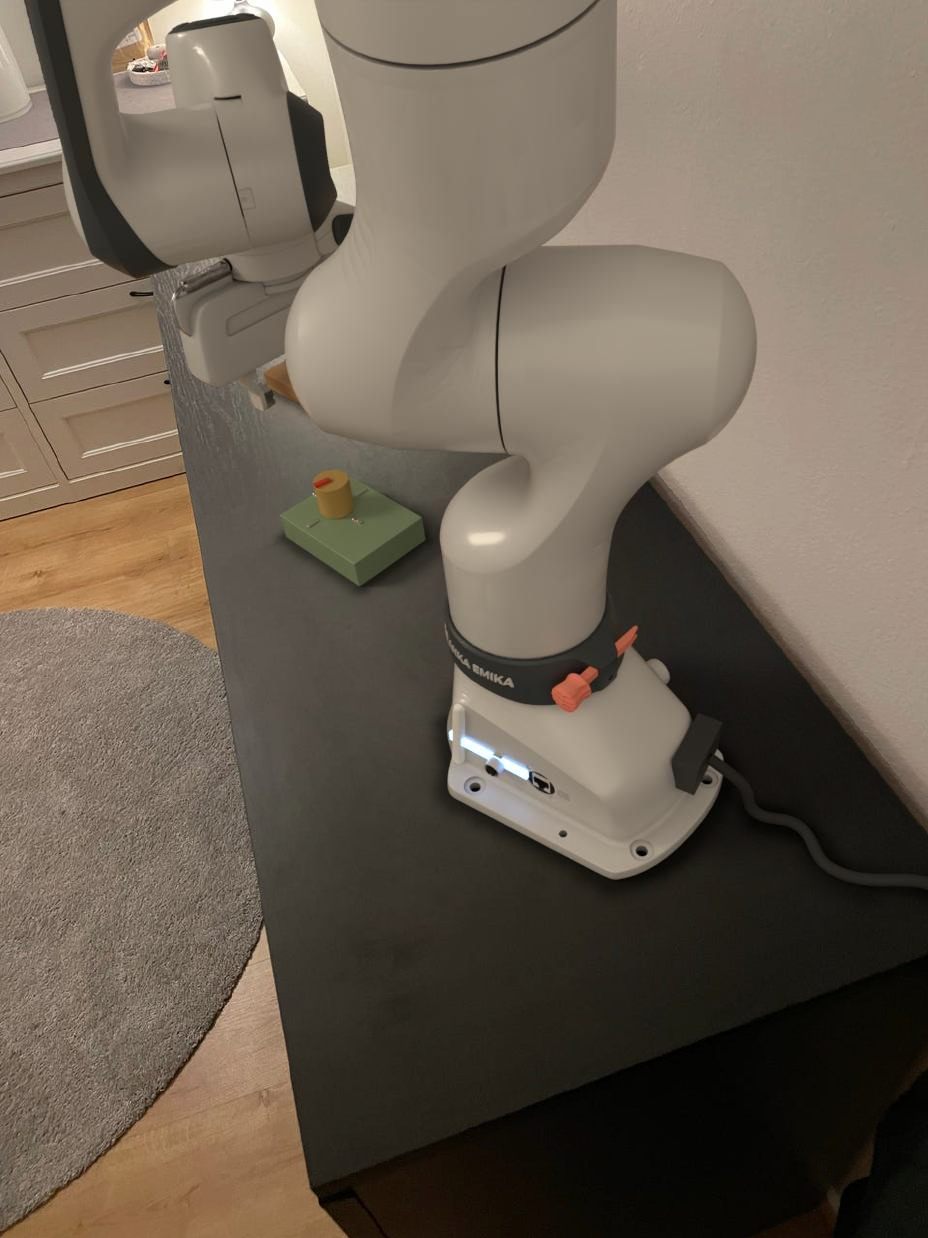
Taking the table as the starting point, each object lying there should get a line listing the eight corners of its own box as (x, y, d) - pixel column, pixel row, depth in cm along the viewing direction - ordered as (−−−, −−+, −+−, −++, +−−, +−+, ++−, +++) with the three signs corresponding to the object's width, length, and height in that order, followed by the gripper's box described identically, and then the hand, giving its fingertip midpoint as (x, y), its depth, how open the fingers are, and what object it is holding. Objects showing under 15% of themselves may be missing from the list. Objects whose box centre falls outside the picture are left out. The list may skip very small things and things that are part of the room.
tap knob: (344, 492, 93) (337, 462, 90) (360, 509, 90) (354, 479, 88) (313, 506, 91) (305, 476, 89) (329, 523, 89) (322, 493, 86)
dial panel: (426, 540, 91) (422, 515, 88) (359, 587, 87) (353, 563, 84) (351, 495, 97) (345, 471, 95) (286, 537, 93) (278, 513, 91)
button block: (374, 383, 113) (369, 355, 110) (319, 415, 109) (312, 386, 106) (320, 358, 119) (314, 330, 116) (267, 387, 115) (259, 359, 112)
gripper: (186, 297, 69) (235, 446, 79) (380, 205, 78) (402, 348, 88) (143, 277, 72) (195, 422, 82) (334, 191, 81) (360, 330, 91)
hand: (304, 383), depth 85 cm, fingers open, 8 cm apart
